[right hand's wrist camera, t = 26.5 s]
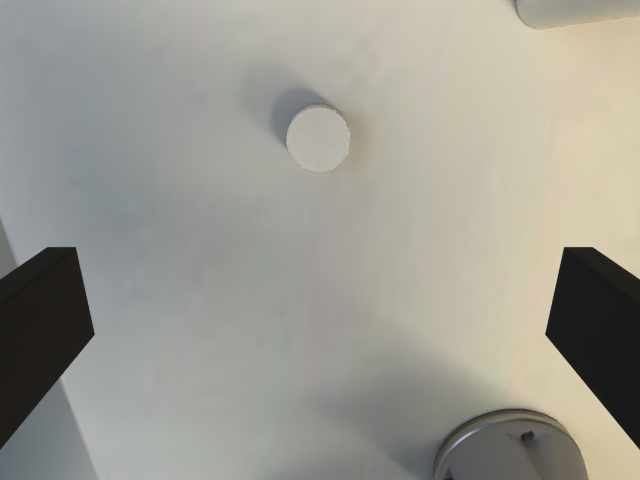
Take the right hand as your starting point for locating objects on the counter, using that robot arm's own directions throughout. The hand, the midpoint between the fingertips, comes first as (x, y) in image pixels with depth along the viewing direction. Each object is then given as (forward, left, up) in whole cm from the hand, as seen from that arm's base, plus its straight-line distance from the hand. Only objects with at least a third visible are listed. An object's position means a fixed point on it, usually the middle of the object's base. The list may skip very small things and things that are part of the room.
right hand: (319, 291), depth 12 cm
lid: (0, 0, -24) cm, 24 cm away
